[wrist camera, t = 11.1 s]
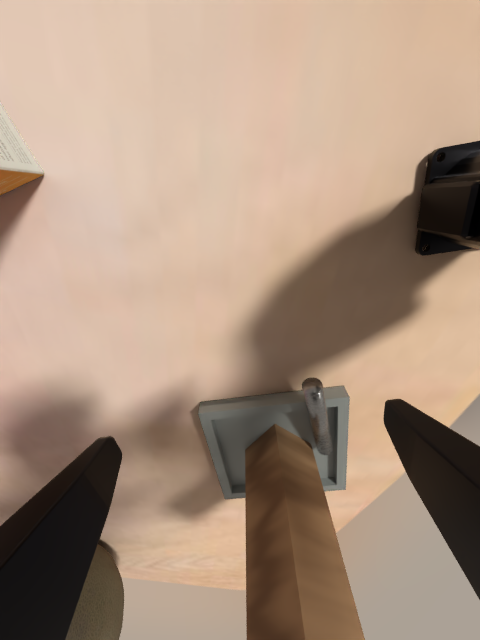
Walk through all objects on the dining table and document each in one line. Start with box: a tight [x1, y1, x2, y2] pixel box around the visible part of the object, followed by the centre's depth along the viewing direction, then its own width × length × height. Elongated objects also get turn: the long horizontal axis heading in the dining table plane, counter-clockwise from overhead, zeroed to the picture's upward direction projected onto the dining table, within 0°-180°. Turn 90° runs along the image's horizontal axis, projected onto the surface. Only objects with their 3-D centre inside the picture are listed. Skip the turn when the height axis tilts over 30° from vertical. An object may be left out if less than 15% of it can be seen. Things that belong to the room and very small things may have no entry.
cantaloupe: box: [66, 545, 124, 640], centre depth 31 cm, size 14×14×15 cm
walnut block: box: [245, 424, 365, 640], centre depth 21 cm, size 5×5×14 cm
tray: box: [198, 386, 350, 499], centre depth 27 cm, size 14×14×2 cm
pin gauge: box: [302, 378, 333, 455], centre depth 23 cm, size 10×2×2 cm
